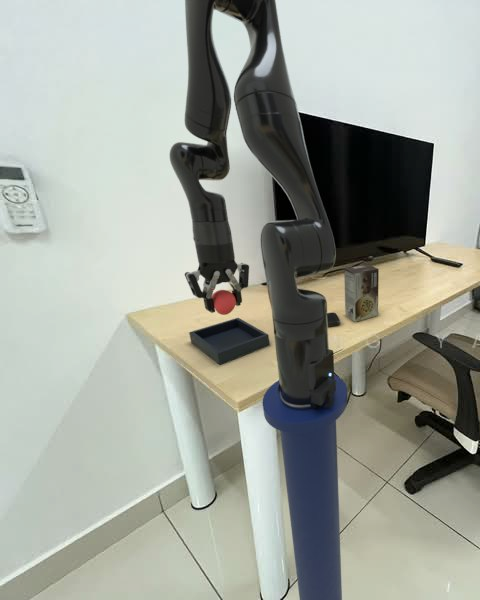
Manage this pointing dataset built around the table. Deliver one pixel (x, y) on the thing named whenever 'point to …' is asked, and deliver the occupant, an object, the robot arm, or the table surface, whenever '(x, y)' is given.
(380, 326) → the table surface
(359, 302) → the coffee box
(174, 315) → the table surface
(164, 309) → the table surface
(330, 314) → the phone
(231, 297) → the stress ball
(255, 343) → the tray
